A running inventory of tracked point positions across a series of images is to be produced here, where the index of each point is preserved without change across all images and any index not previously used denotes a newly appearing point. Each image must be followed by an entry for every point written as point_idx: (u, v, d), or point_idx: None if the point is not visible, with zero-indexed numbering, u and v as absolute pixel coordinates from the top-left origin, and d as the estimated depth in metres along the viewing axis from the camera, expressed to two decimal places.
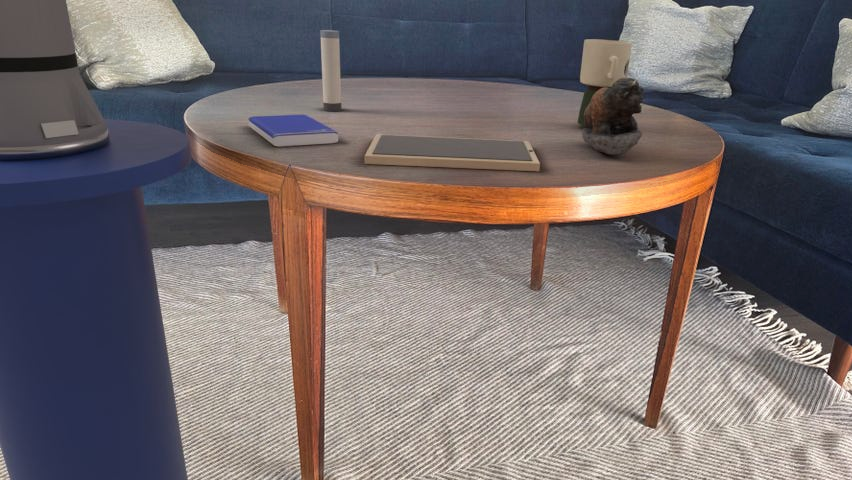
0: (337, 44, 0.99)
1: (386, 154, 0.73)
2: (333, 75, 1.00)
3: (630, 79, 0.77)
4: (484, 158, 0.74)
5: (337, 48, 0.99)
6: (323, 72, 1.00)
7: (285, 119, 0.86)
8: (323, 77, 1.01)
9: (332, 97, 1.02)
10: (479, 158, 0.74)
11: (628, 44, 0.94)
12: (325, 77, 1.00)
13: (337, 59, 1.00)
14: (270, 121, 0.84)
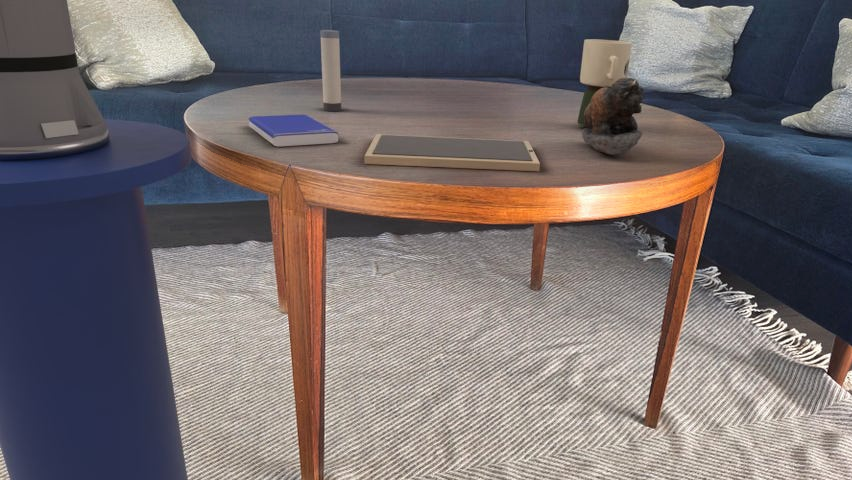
0: (337, 44, 0.99)
1: (386, 154, 0.73)
2: (333, 75, 1.00)
3: (630, 79, 0.77)
4: (484, 158, 0.74)
5: (337, 48, 0.99)
6: (323, 72, 1.00)
7: (285, 119, 0.86)
8: (323, 77, 1.01)
9: (332, 97, 1.02)
10: (479, 158, 0.74)
11: (628, 44, 0.94)
12: (325, 77, 1.00)
13: (337, 59, 1.00)
14: (270, 121, 0.84)
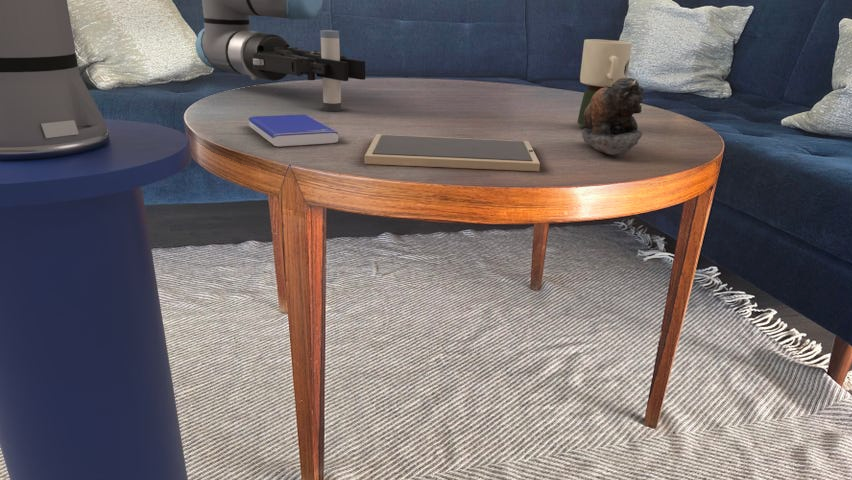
0: (337, 44, 0.99)
1: (386, 154, 0.73)
2: None
3: (630, 79, 0.77)
4: (484, 158, 0.74)
5: (337, 48, 0.99)
6: None
7: (285, 119, 0.86)
8: (323, 77, 1.01)
9: (332, 97, 1.02)
10: (479, 158, 0.74)
11: (628, 44, 0.94)
12: None
13: (337, 59, 1.00)
14: (270, 121, 0.84)
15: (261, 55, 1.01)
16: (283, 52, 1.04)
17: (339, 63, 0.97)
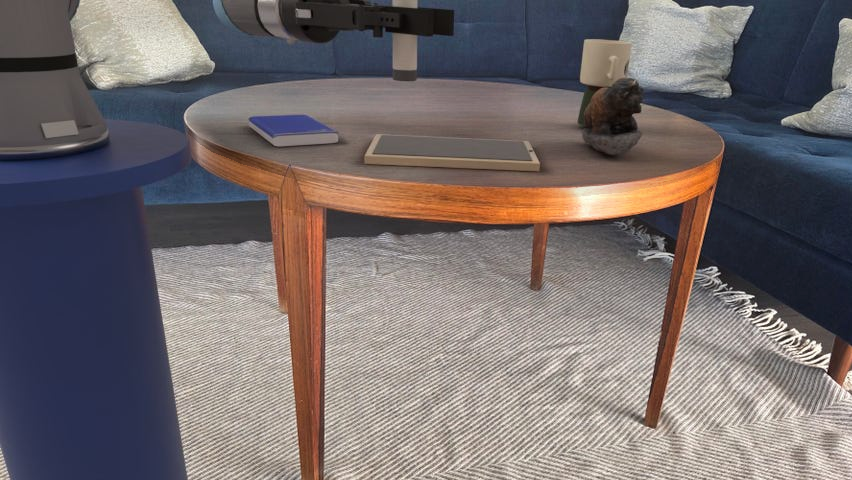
0: None
1: (386, 154, 0.73)
2: None
3: (630, 79, 0.77)
4: (484, 158, 0.74)
5: None
6: None
7: (285, 119, 0.86)
8: (394, 33, 0.73)
9: (407, 62, 0.73)
10: (479, 158, 0.74)
11: (628, 44, 0.94)
12: (398, 33, 0.72)
13: None
14: (270, 121, 0.84)
15: (308, 4, 0.73)
16: (336, 1, 0.75)
17: (421, 11, 0.68)
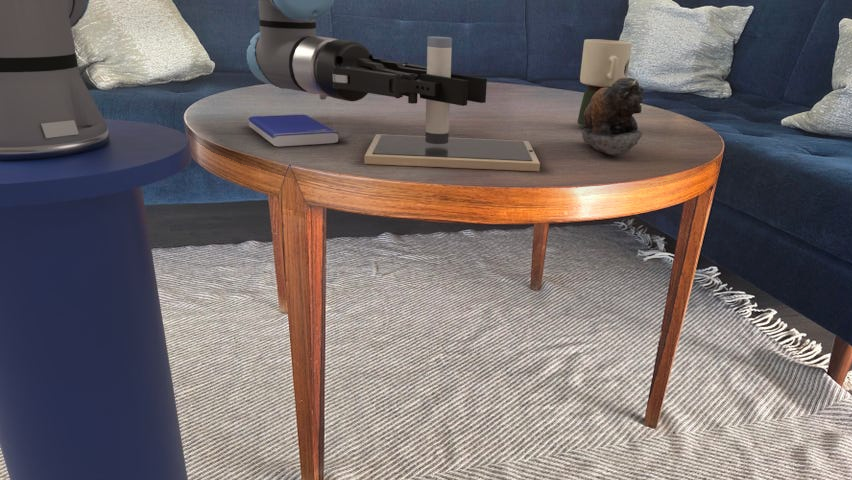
0: (449, 55, 0.74)
1: (386, 154, 0.73)
2: None
3: (630, 79, 0.77)
4: (484, 158, 0.74)
5: (449, 61, 0.74)
6: None
7: (285, 119, 0.86)
8: None
9: (440, 126, 0.76)
10: (479, 158, 0.74)
11: (628, 44, 0.94)
12: None
13: (449, 76, 0.75)
14: (270, 121, 0.84)
15: (345, 70, 0.76)
16: (371, 65, 0.78)
17: (456, 82, 0.71)
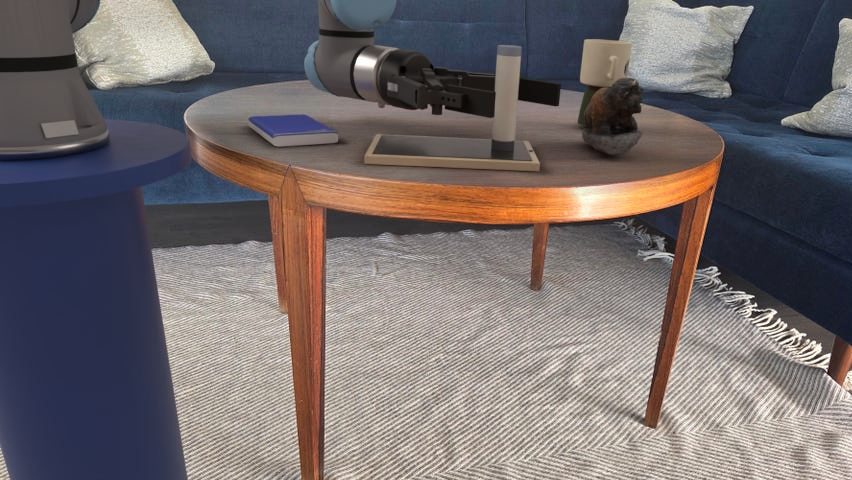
0: (519, 64, 0.74)
1: (386, 154, 0.73)
2: (511, 104, 0.76)
3: (630, 79, 0.77)
4: (484, 158, 0.74)
5: (518, 69, 0.75)
6: (497, 101, 0.76)
7: (285, 119, 0.86)
8: (496, 107, 0.76)
9: (507, 134, 0.77)
10: (479, 158, 0.74)
11: (628, 44, 0.94)
12: (500, 107, 0.76)
13: (517, 84, 0.75)
14: (270, 121, 0.84)
15: (394, 78, 0.77)
16: (424, 75, 0.78)
17: (483, 93, 0.69)
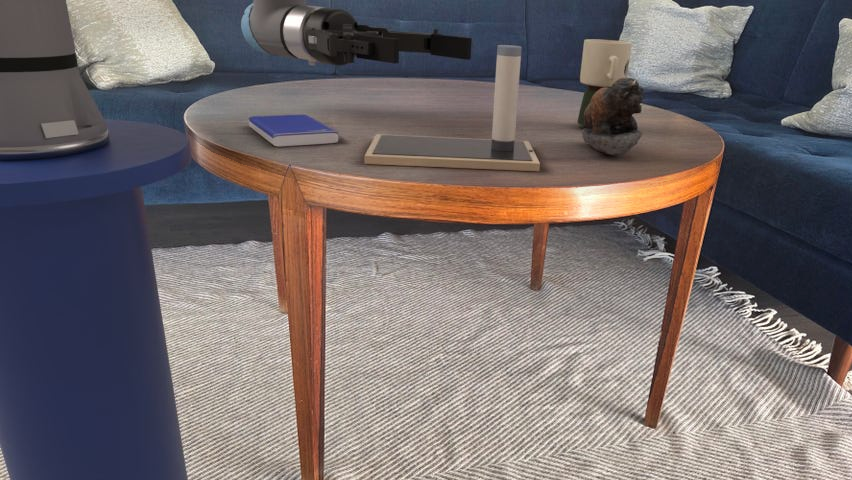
0: (519, 64, 0.74)
1: (386, 154, 0.73)
2: (511, 104, 0.76)
3: (630, 79, 0.77)
4: (484, 158, 0.74)
5: (518, 69, 0.75)
6: (497, 101, 0.76)
7: (285, 119, 0.86)
8: (496, 107, 0.76)
9: (507, 134, 0.77)
10: (479, 158, 0.74)
11: (628, 44, 0.94)
12: (500, 107, 0.76)
13: (517, 84, 0.75)
14: (270, 121, 0.84)
15: (314, 31, 0.83)
16: None
17: (388, 40, 0.75)
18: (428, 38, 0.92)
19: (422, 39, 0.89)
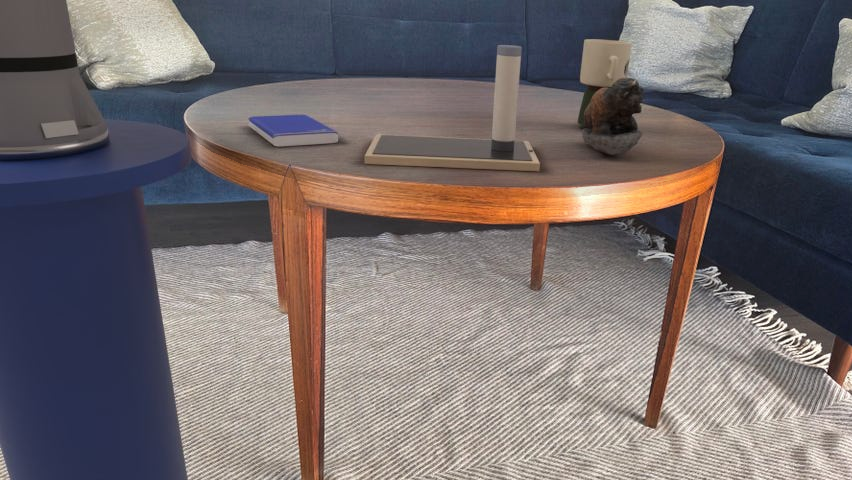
0: (519, 64, 0.74)
1: (386, 154, 0.73)
2: (511, 104, 0.76)
3: (630, 79, 0.77)
4: (484, 158, 0.74)
5: (518, 69, 0.75)
6: (497, 101, 0.76)
7: (285, 119, 0.86)
8: (496, 107, 0.76)
9: (507, 134, 0.77)
10: (479, 158, 0.74)
11: (628, 44, 0.94)
12: (500, 107, 0.76)
13: (517, 84, 0.75)
14: (270, 121, 0.84)
15: None
16: None
17: None
18: None
19: None
